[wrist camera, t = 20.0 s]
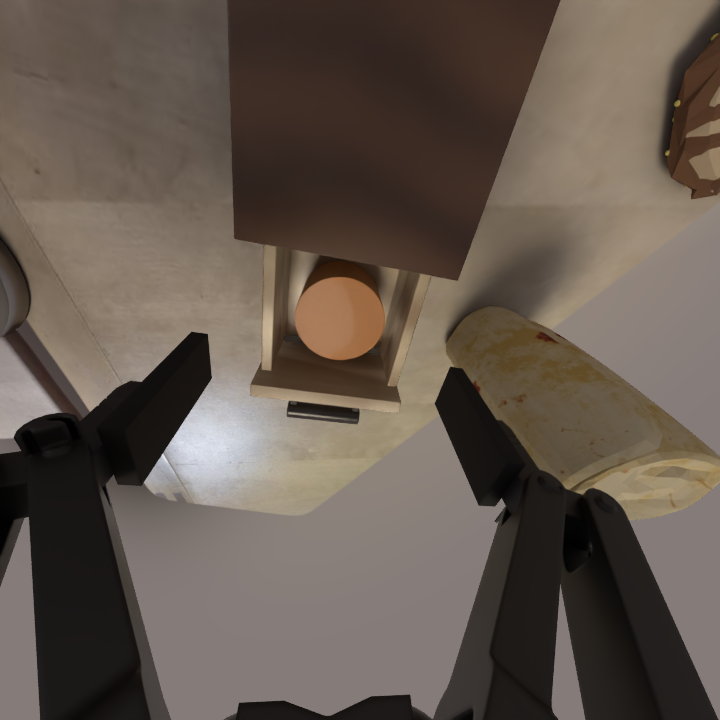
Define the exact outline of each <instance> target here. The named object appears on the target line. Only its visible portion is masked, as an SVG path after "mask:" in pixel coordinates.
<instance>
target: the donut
mask: <svg viewBox="0 0 720 720" xmlns="http://www.w3.org/2000/svg"><path fill="white" fill-rule="evenodd" d="M711 41H712V42H711V43H710V44H709V45H708V46H707V47H706V49H705V50H704V51H703V52H702V53H701V54H700V56H699V57H698V58H697V59H696V60H695V61H694V62H693V64H692V65H691V66H690V67H689V68H688V69H687V70H686V72H685V75H684V79H683V83H682V87H681V91H680V93H679V95H678V96H679V98H678V100H677V101H676V102H675V104H674V106H675V107H676V108H675V112H674V117H673V119H672V122H673V128H672V134H671V141H670V147H669V150H668V151H666V153H665V155H666V156H668V160H667V165H668V168H669V171H670V174H671V177H672V178H673V179H675V180H676V181H678V182H680V183H682V184H683V186H684V187H689V188H691V189H692V194H691V199H695V198H701V197H707V196H713V195H718V196H720V33H717V34H715V35H713V36H712V38H711Z"/></svg>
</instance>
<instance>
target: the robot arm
mask: <svg viewBox="0 0 720 720" xmlns="http://www.w3.org/2000/svg"><path fill="white" fill-rule="evenodd" d="M28 307H29V296H28V290H27V286H26V283H25V280H24V277H23V275H22V272H21V270H20V268H19V266H18V265H17V263H16V261H15V259H14V258H13V256H12V255H11V253H10V252H9V250H8V249H7V248H6V246H5V245H4V244H3V242H2V241H1V240H0V338H1V337H3V336H6V335H8V334H10V333H12V332H13V331H15V330H16V329H17V328H19V327H20V325H21V324H22V323H23V321H24V320H25V318H26V315H27V313H28ZM211 379H212V376H211V364H210V353H209V342H208V334H204V333H196V332H191V333H190V334H189V335H188V336H187V337H186V338H185V339H184V340H183V341H182V342H181V343H180V344H179V345H178V346H177V347H176V348H175V349H174V350H173V351H172V352H171V353H170V354H169V355H168V356H167V357H166V358H165V359H164V360H163V361H162V362H161V363H160V364H159V365H158V366H157V367H156V368H155V369H154V370H153V371H152V372H151V373H150V374H149V375H148V376H147V377H146V378H145V379H144V380H143V381H142V382H136V381H129V382H127V383H125V384H123V385H121V386H119V387H117V388H116V389H115V390H114V391H113V392H112V393H111V394H109V395H108V396H107V399H104V400H103V401H102V402H101V403H100V404H99V406H96V407H95V408H94V409H93V410H92V411H91V412H90V413H89V414H88V415H87V416H86V417H84V418H83V419H82V420H81V421H79V419H78V418H77V417H76V416H75V415H72V414H69V413H55V414H49V415H45V416H42V417H39V418H36V419H33V420H32V421H30V422H28V423H26V424H24V425H23V426H22V427H21V428H20V429H18V430H17V431H16V434H15V436H14V439H15V441H16V442H17V444H18V446H19V447H20V449H21V451H19V452H12V453H5V454H0V586H1V583H2V580H3V577H4V575H5V572H6V569H7V566H8V563H9V560H10V557H11V555H12V552H13V549H14V546H15V543H16V540H17V538H18V535H19V532H20V529H21V526H22V523H23V520H24V518H25V517H29V525H30V542H31V561H32V579H33V595H34V614H35V633H36V651H37V669H38V687H39V705H40V720H171V719H170V715H169V712H168V710H167V707H166V704H165V701H164V698H163V695H162V691H161V687H160V684H159V680H158V676H157V672H156V669H155V665H154V661H153V657H152V654H151V650H150V646H149V642H148V639H147V635H146V631H145V627H144V624H143V620H142V616H141V612H140V608H139V605H138V601H137V597H136V593H135V590H134V586H133V582H132V578H131V575H130V571H129V567H128V564H127V560H126V556H125V552H124V548H123V545H122V541H121V537H120V533H119V530H118V526H117V522H116V518H115V515H114V511H113V507H112V503H111V500H110V496H109V492H108V489H107V486H106V483H107V482H108V481H109V479H110V478H111V477H112V476H113V474H114V476H115V479H116V481H117V484H119V485H136V486H141V485H142V484H143V483H144V481H145V480H146V478H147V477H148V475H149V473H150V472H151V470H152V469H153V467H154V466H155V464H156V463H157V461H158V460H159V458H160V457H161V455H162V454H163V452H164V451H165V449H166V447H167V446H168V444H169V443H170V441H171V440H172V438H173V437H174V435H175V434H176V432H177V431H178V429H179V428H180V426H181V425H182V423H183V421H184V420H185V418H186V417H187V415H188V414H189V412H190V411H191V409H192V408H193V406H194V405H195V403H196V402H197V400H198V399H199V397H200V395H201V394H202V392H203V391H204V389H205V388H206V386H207V385H208V383H209V382H210V380H211ZM435 405H436V407H437V410H438V412H439V414H440V417H441V419H442V421H443V424H444V426H445V428H446V431H447V433H448V435H449V438H450V440H451V442H452V444H453V447H454V449H455V451H456V454H457V456H458V458H459V461H460V463H461V465H462V468H463V470H464V472H465V475H466V477H467V479H468V481H469V484H470V486H471V488H472V491H473V493H474V495H475V498H476V500H477V502H478V505H480V506H496V505H497V503H498V502H499V501H500V499H501V498H502V499H503V501H504V503H505V505H506V507H505V508H504V509H503V511H502V512H501V513H500V514H499V516H498V517H497V518H496V520H495V522H496V523H497V522H498V521H499V523H498V526H497V530H496V533H495V536H494V539H493V543H492V546H491V549H490V552H489V556H488V559H487V562H486V566H485V569H484V572H483V575H482V579H481V582H480V585H479V588H478V592H477V595H476V598H475V602H474V605H473V608H472V611H471V614H470V618H469V621H468V625H467V628H466V631H465V634H464V637H463V640H462V644H461V647H460V650H459V653H458V657H457V660H456V664H455V667H454V670H453V673H452V676H451V679H450V682H449V685H448V687H447V689H446V691H445V693H444V695H443V697H442V698H441V700H440V702H439V705H438V707H437V709H436V712H435V715H434V718H433V719H431V718H430V717H429V716H427V715H426V714H425V713H424V712H422V711H420V710H418V709H417V708H415V707H412V705H411V698H410V695H395V696H394V695H393V696H372V697H369V698H367V699H365V700H363V701H361V702H359V703H357V704H354V705H352V706H350V707H348V708H346V709H344V710H342V711H340V712H338V713H336V714H334V715H331V716H324V715H321V714H318V713H315V712H313V711H310V710H308V709H305V708H302V707H299V706H297V705H294V704H291V703H289V702H286V701H269V702H268V701H267V702H246V703H239V706H238V711H237V713H236V714H234V715H231V716H229V717H227V718H225V719H224V720H558V718H557V717H556V716H555V715H554V713H553V711H552V707H551V706H552V703H551V702H552V701H551V699H552V686H553V672H554V659H555V645H556V632H557V619H558V606H559V591H560V584H561V589H562V594H563V600H564V606H565V611H566V616H567V622H568V627H569V632H570V638H571V643H572V649H573V654H574V660H575V665H576V671H577V676H578V681H579V687H580V692H581V698H582V703H583V709H584V714H585V719H586V720H718V718H717V716H716V714H715V711H714V709H713V707H712V705H711V702H710V700H709V698H708V696H707V693H706V691H705V689H704V687H703V685H702V683H701V680H700V678H699V676H698V673H697V671H696V669H695V667H694V665H693V663H692V660H691V658H690V656H689V653H688V651H687V649H686V647H685V644H684V642H683V640H682V638H681V636H680V633H679V631H678V629H677V627H676V624H675V622H674V620H673V618H672V616H671V614H670V611H669V609H668V607H667V604H666V602H665V600H664V598H663V595H662V593H661V591H660V589H659V586H658V584H657V582H656V580H655V578H654V575H653V573H652V571H651V569H650V566H649V564H648V562H647V560H646V557H645V555H644V553H643V551H642V549H641V546H640V544H639V542H638V540H637V537H636V535H635V533H634V531H633V528H632V526H631V524H630V522H629V520H628V517H627V515H626V513H625V511H624V509H623V508H622V506H621V505H620V504H619V503H618V502H617V501H616V500H615V499H614V498H613V497H612V496H610V495H609V494H607V493H605V492H603V491H601V490H599V489H595V488H589V489H588V490H587V491H586V492H585V493H584V494H583V495H582V494H579V493H576V492H573V491H571V490H568V489H565V487H564V486H563V484H562V483H561V482H560V481H559V480H558V479H557V478H556V477H554V476H553V475H551V474H550V473H548V472H546V471H543V470H540V469H539V468H538V467H537V465H536V464H535V462H534V461H533V459H532V458H531V457H530V455H529V454H528V452H527V451H526V449H525V448H524V447H523V445H521V442H520V441H519V439H518V438H517V437H516V435H515V434H514V432H513V431H512V429H511V428H510V427H509V426H508V425H506V424H505V423H504V422H503V421H502V420H496V418H495V417H494V415H493V414H492V412H491V411H490V409H489V408H488V406H487V405H486V403H485V402H484V400H483V398H482V397H481V395H480V394H479V392H478V391H477V389H476V388H475V386H474V385H473V383H472V382H471V380H470V379H469V377H468V376H467V374H466V373H465V371H464V370H463V368H455V367H450V369H449V371H448V373H447V376H446V378H445V381H444V383H443V385H442V388H441V390H440V392H439V395H438V397H437V400H436V402H435Z"/></svg>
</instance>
